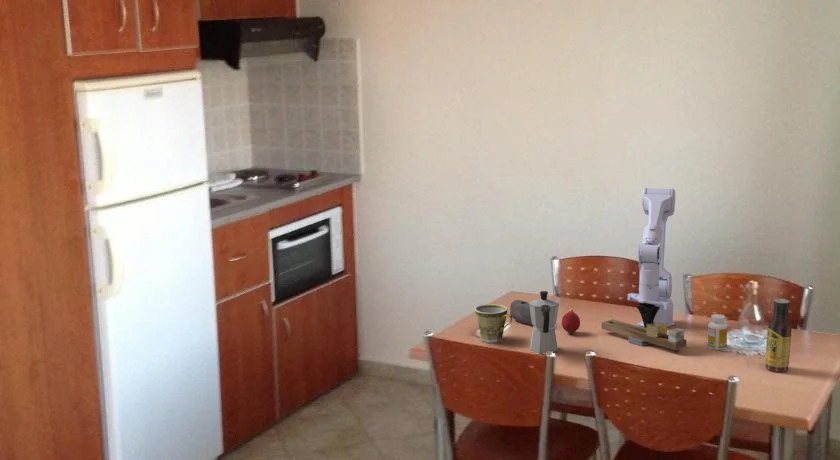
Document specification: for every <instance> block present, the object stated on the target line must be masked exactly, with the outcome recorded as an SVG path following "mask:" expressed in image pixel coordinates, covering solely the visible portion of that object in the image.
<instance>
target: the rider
mask: <svg viewBox="0 0 840 460" xmlns="http://www.w3.org/2000/svg"><path fill="white" fill-rule="evenodd" d="M667 328H668V327H667V324H666V323H662V322H658V321H654V322H651V323H648V324H647V328H646V329H647V332H646V334H648V335H651V336H655V337H662V338H663V335H665V334H667V335H668V333H667V332H668V329H667Z"/></svg>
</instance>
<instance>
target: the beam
mask: <svg viewBox="0 0 840 460" xmlns="http://www.w3.org/2000/svg"><path fill="white" fill-rule="evenodd" d="M601 329H602V330H605V331H609V332H611V333H615V334H619V335H622V336H625V337H628V340H627V341H628V343H629V344H632V345H635V346H639V347H644V346H647V345H650V344H654V345H657V346H660V347H663V348H667V349H671V350H675V351H676V350H680V349H682V348H686V347H687V339H685V329H682V328H678V327H677V328H673V329H670V330H669V331H668V333H667V334H665V335H663V338H662V337H655V336H651V335H648V334H646V332H647V328H644V327H643V326H639V325H635V324H630V323H626V322H623V321H619V320H616V319H613V318H612V319H608V320H606V321H605V320H604V321H602V322H601Z"/></svg>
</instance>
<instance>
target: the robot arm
mask: <svg viewBox="0 0 840 460" xmlns="http://www.w3.org/2000/svg"><path fill="white" fill-rule="evenodd" d="M641 195H642V196H641V205H642V210H643V212H644V214H645V215H647V216H648V223H647V225H645V227H644V228H643V231H642V240H641V245H639V246H638V250H637V258H638V259H637V260H638V270H639V283H638V284H639V285H638V293H634V292H630V293H627V301H633V302H638V303H639V304H637V305H636V309H637V311H638V312H639V314H640V316H641V319H642V320H641V321H640V322H637V323H636V326H639V327H642V328H645V329H647V324H648V323H651V322H654V321H658V322H662V323H666V324H667V328H668V327H671V326H674V325H675V324H676V323H675V322H674V303H673V301H672V299H671V297H672V295H673V294H672V293H673V282H672V281H673V279H672V278H673V277H672V273H670V272H669V271H668V270H667V269H665V267H664V264H665V248H666V247H665V246H666V244H665V243H666V226H667V222H668V218H669V217H671V216H673V215H674V212H675V207H676V190H675V189H674V188H649V187H644V188H643V189H642V194H641Z"/></svg>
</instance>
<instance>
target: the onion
mask: <svg viewBox="0 0 840 460" xmlns="http://www.w3.org/2000/svg"><path fill="white" fill-rule="evenodd" d="M568 310H569V311H568V312H566V313H565V314H564V315H563V316H562V318H561V327H562V329H563V330H564V331H565V332H566V333H568V334H569V335H573V334H574V333H575V332H577V331H578V330H579V328H580V327H581V319H580V317H579V315H578V314H577V313H575V312H574V310H573V309H572V308H571V309H568Z"/></svg>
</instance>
